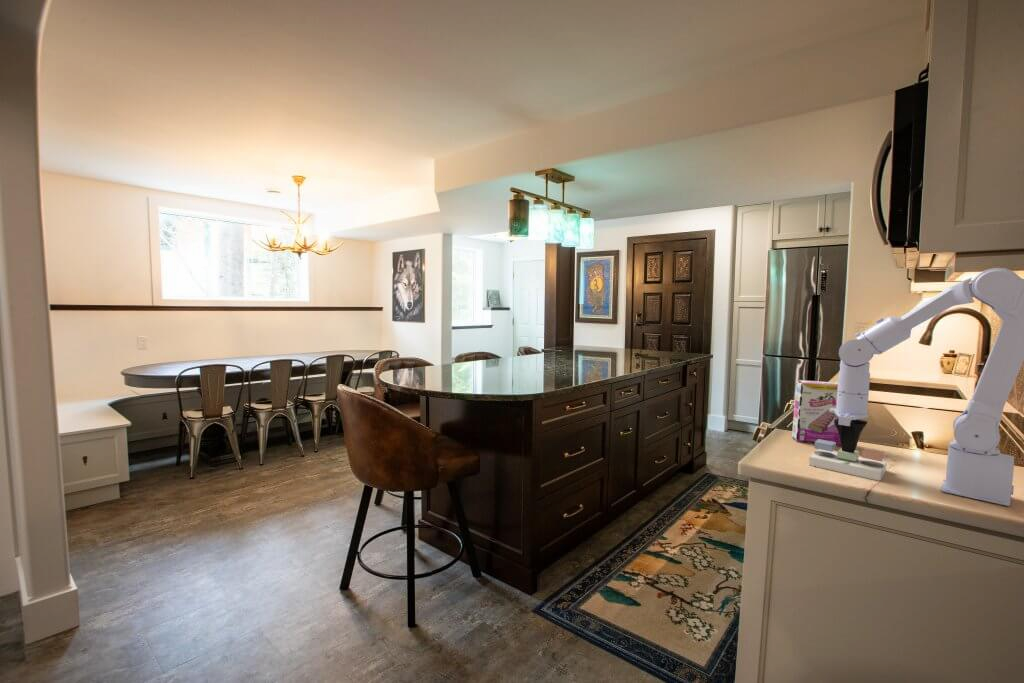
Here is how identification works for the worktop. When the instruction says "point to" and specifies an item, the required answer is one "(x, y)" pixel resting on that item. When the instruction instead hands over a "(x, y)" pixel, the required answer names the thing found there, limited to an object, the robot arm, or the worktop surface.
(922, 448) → the worktop surface
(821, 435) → the candy bar box
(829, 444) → the slate button
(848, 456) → the sage button
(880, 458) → the terracotta button
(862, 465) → the console
